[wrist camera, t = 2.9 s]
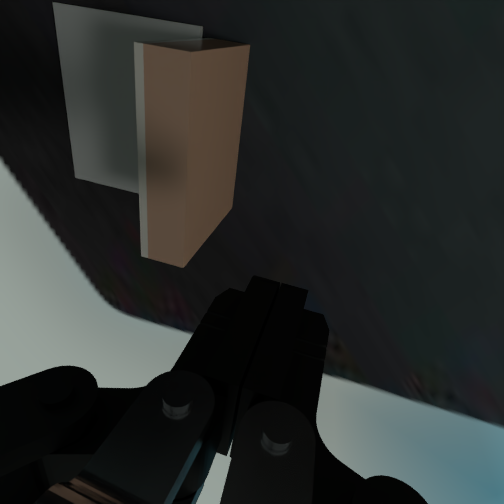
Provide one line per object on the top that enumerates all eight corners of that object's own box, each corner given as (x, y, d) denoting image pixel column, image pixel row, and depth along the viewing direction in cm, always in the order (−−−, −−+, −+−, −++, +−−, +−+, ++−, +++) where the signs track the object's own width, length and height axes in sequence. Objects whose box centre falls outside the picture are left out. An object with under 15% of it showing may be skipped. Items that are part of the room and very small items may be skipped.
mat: (56, 2, 23) (52, 2, 22) (202, 26, 21) (200, 26, 21) (78, 176, 28) (75, 177, 28) (193, 205, 27) (192, 206, 27)
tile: (209, 37, 21) (133, 41, 15) (250, 44, 21) (191, 52, 14) (200, 199, 27) (141, 255, 20) (232, 207, 26) (183, 267, 20)
